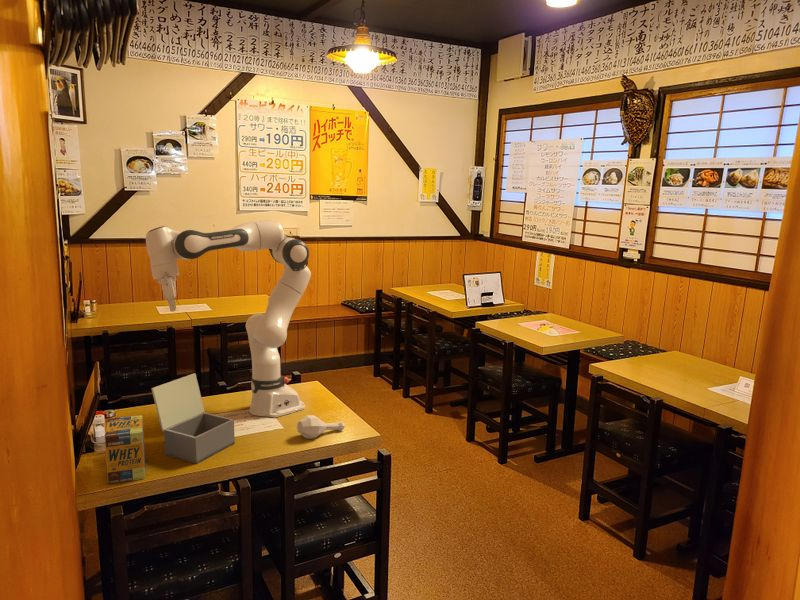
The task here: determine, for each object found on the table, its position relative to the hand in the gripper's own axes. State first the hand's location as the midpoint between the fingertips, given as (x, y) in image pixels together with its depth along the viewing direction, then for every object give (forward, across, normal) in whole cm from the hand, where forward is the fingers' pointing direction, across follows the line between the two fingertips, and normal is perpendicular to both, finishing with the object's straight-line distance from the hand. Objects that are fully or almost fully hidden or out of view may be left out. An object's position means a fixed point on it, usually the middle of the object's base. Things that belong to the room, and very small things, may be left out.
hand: (173, 310), depth 210 cm
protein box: (+46, -24, +22) cm, 57 cm away
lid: (+31, -10, +4) cm, 32 cm away
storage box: (+48, -14, 0) cm, 50 cm away
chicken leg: (+55, -14, -42) cm, 70 cm away
